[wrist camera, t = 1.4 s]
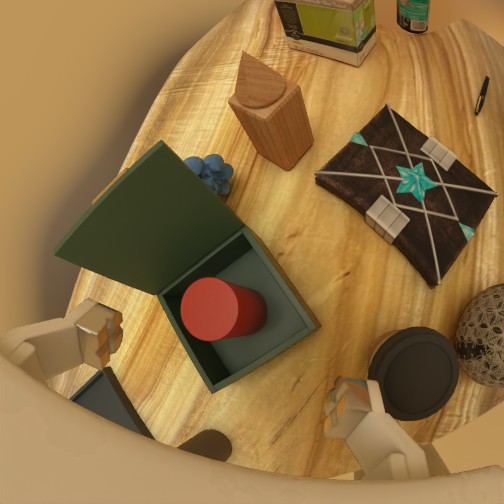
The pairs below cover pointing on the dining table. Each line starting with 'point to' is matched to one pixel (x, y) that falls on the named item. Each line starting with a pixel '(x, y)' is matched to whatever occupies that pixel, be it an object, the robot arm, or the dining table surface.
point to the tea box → (330, 27)
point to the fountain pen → (482, 96)
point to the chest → (251, 276)
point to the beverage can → (413, 15)
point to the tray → (110, 402)
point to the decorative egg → (483, 338)
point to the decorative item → (271, 112)
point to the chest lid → (149, 224)
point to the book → (409, 191)
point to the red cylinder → (222, 310)
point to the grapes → (212, 172)
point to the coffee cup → (413, 371)
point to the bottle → (209, 445)
